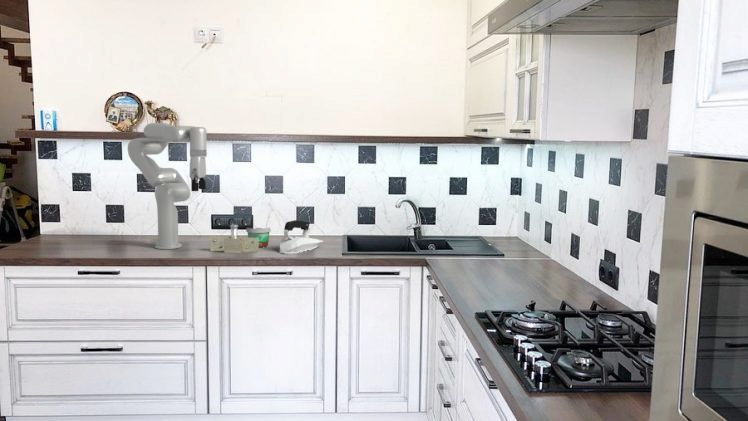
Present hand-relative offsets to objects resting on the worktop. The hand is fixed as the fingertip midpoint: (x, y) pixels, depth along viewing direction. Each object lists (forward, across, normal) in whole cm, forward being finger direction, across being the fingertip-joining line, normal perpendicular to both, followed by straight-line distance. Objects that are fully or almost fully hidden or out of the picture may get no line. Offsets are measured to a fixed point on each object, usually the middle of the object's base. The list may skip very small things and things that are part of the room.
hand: (198, 190), depth 304 cm
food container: (+30, -18, +24) cm, 43 cm away
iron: (+30, -15, +45) cm, 56 cm away
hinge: (+30, -6, +15) cm, 34 cm away
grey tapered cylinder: (+30, -6, +15) cm, 34 cm away
